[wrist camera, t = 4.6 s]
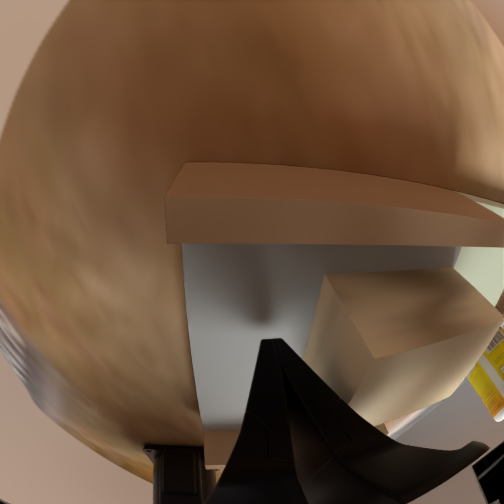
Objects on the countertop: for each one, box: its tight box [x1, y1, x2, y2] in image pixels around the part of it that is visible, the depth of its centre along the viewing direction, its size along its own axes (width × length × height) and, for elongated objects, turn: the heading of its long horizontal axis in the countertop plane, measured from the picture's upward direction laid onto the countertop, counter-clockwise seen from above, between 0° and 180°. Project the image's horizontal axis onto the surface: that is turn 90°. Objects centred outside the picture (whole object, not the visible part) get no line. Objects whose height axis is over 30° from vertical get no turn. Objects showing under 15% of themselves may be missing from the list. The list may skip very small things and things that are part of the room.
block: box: [303, 267, 504, 426], centre depth 9 cm, size 7×5×4 cm
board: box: [165, 162, 504, 469], centre depth 12 cm, size 20×16×4 cm
